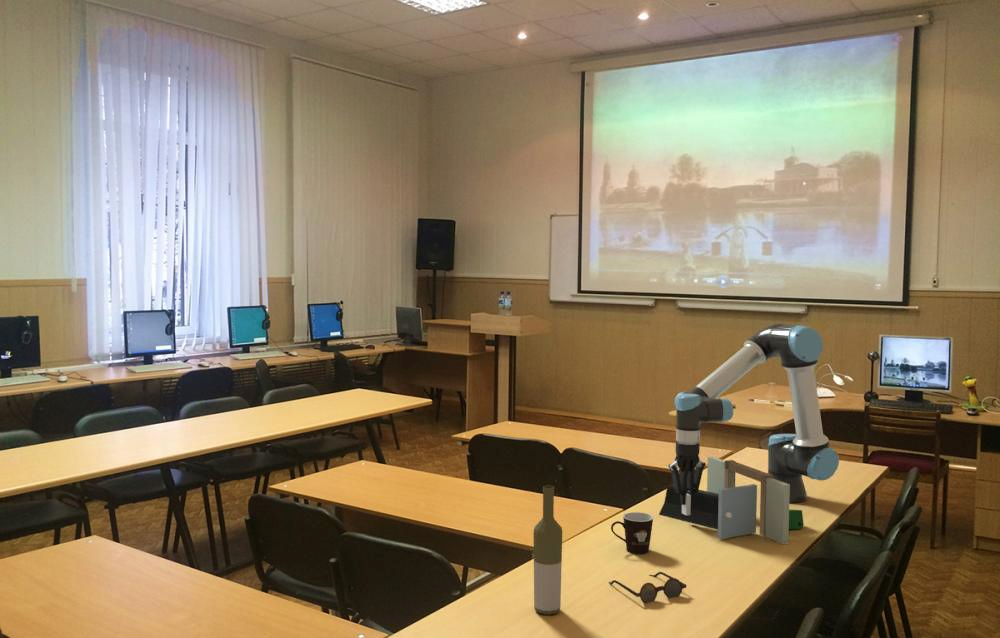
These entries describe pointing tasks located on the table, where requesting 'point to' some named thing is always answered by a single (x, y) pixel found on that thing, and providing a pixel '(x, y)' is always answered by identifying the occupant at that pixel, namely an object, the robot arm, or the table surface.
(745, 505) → the door
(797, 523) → the clamp
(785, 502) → the door frame
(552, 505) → the bottle
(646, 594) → the eyeglasses
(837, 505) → the table surface
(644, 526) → the coffee mug
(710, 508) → the barrier
